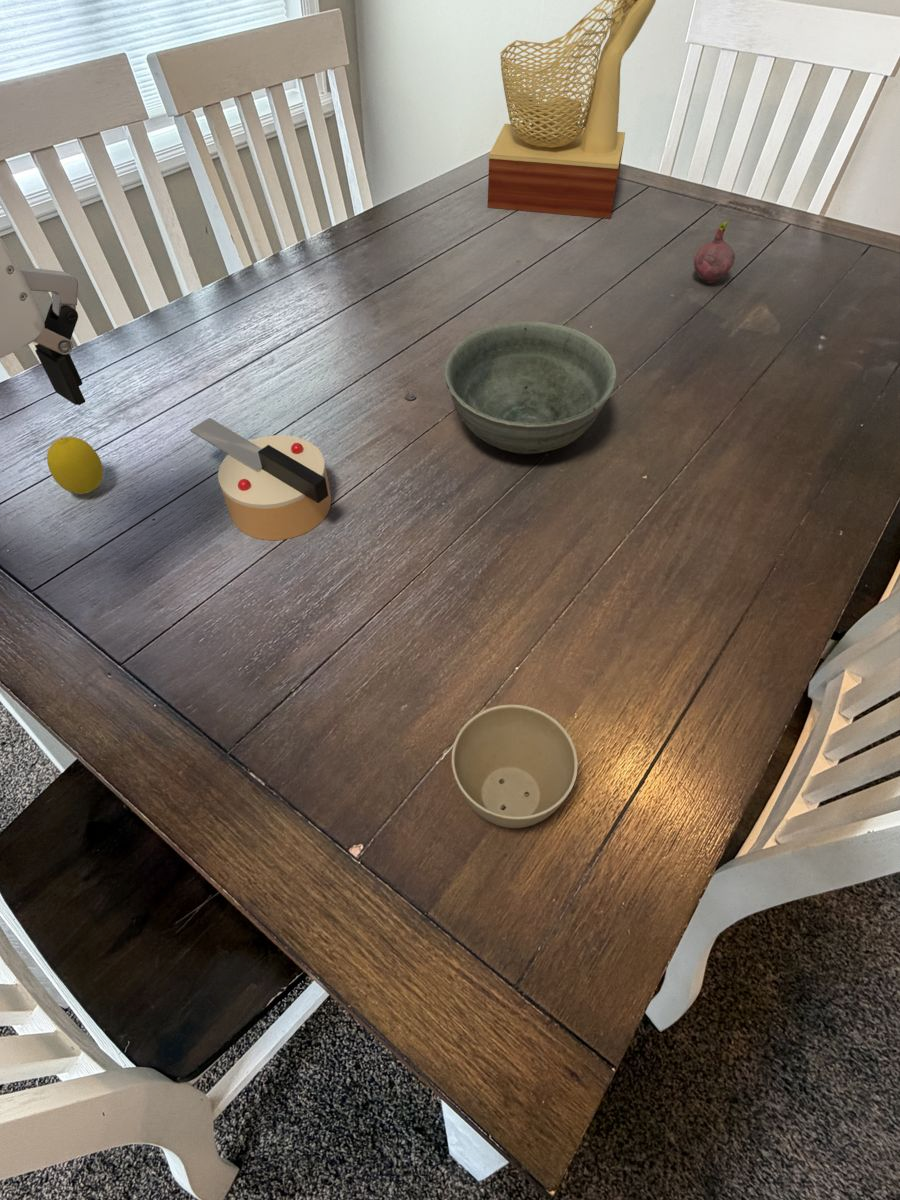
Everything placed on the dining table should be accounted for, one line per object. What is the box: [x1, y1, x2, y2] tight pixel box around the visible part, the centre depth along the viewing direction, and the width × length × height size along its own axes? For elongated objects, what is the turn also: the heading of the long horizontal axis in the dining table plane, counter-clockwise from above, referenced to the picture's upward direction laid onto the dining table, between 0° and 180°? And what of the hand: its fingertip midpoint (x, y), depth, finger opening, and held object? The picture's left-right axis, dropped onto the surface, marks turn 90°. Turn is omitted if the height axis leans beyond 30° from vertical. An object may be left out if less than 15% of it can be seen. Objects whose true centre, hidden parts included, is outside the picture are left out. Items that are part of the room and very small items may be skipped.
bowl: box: [443, 320, 617, 455], centre depth 91 cm, size 21×21×10 cm
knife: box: [189, 417, 328, 503], centre depth 83 cm, size 3×21×3 cm, turn 51°
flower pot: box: [451, 704, 579, 829], centre depth 61 cm, size 10×10×7 cm
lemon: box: [46, 436, 104, 495], centre depth 86 cm, size 6×6×8 cm
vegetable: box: [693, 221, 736, 284], centre depth 116 cm, size 6×6×10 cm
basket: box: [487, 0, 657, 219], centre depth 128 cm, size 25×18×35 cm
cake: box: [217, 434, 332, 541], centre depth 85 cm, size 12×12×6 cm
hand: (14, 428), depth 54 cm, fingers open, 9 cm apart
